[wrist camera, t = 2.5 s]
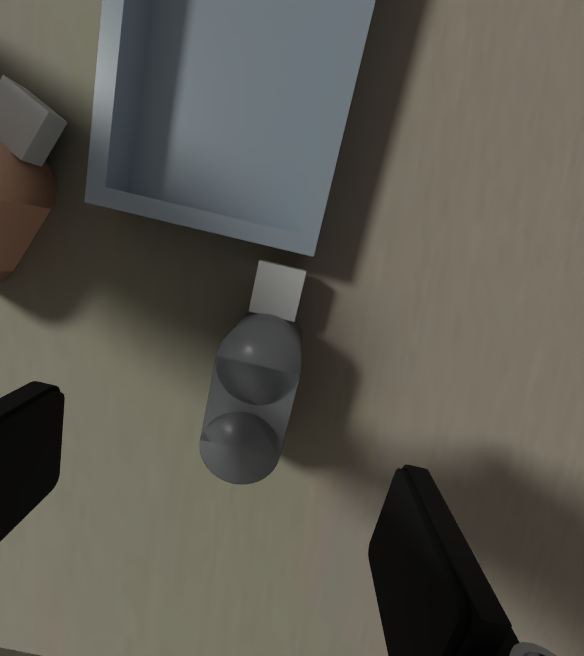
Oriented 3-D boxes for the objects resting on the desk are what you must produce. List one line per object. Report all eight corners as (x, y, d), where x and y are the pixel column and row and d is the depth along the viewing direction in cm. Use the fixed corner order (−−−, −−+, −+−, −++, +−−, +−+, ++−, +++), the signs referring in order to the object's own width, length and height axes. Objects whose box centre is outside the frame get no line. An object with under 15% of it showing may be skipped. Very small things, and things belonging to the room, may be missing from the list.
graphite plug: (277, 439, 20) (270, 491, 16) (216, 426, 20) (193, 474, 15) (318, 272, 18) (324, 279, 13) (251, 255, 18) (234, 257, 13)
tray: (311, 256, 17) (313, 256, 15) (119, 209, 17) (84, 202, 14) (391, -76, 14) (412, -152, 12) (157, -138, 14) (123, -231, 11)
